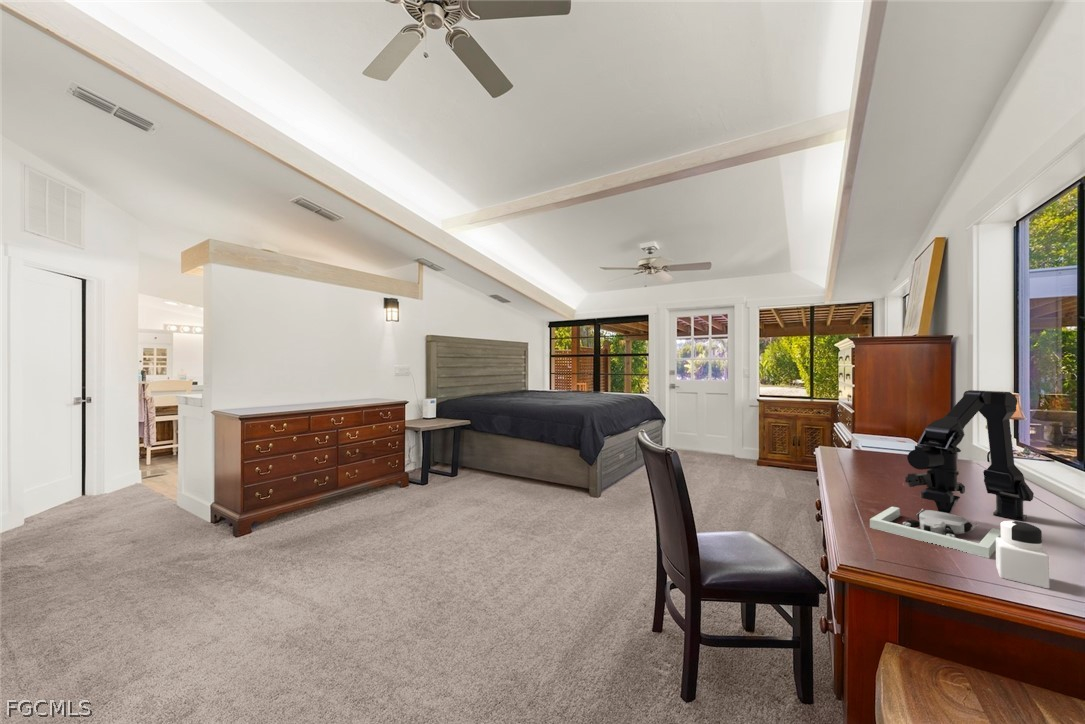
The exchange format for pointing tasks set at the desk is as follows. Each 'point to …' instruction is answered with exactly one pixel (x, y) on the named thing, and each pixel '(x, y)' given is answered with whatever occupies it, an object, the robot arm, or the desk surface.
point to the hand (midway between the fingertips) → (943, 519)
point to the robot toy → (941, 523)
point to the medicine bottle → (1022, 554)
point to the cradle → (934, 534)
